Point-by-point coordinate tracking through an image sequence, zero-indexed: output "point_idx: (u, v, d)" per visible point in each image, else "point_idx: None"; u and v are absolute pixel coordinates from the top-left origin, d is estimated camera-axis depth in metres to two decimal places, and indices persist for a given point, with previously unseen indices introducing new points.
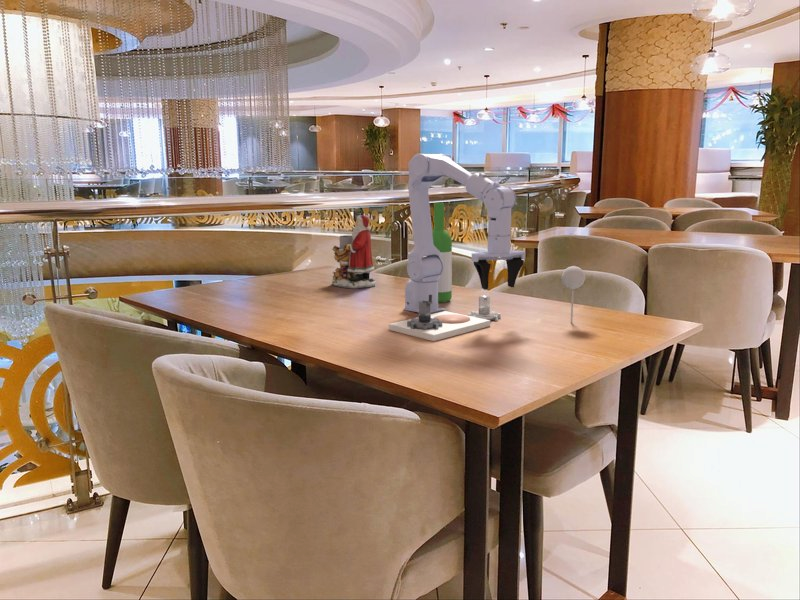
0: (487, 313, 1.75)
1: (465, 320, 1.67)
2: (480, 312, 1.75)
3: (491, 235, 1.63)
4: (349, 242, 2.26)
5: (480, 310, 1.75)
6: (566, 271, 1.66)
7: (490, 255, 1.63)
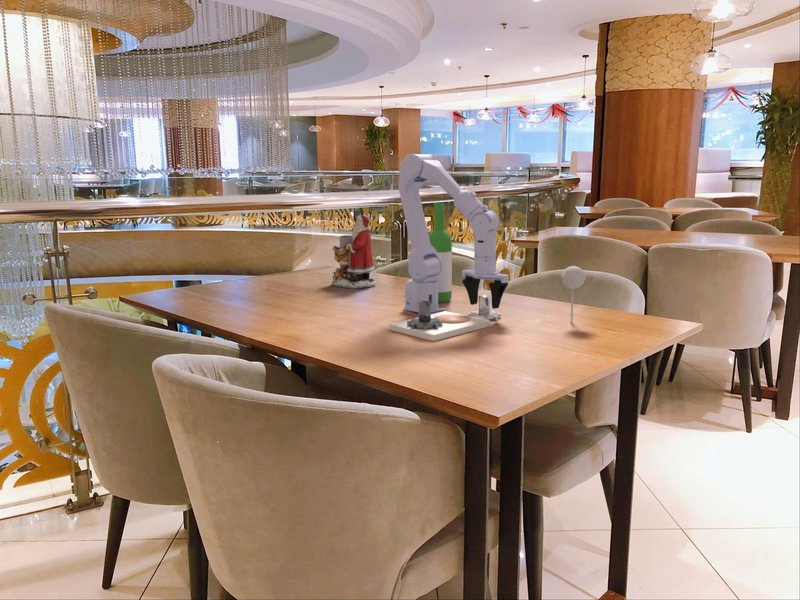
0: (487, 313, 1.75)
1: (465, 320, 1.67)
2: (480, 312, 1.75)
3: None
4: (349, 242, 2.26)
5: (480, 310, 1.75)
6: (566, 271, 1.66)
7: (470, 273, 1.75)
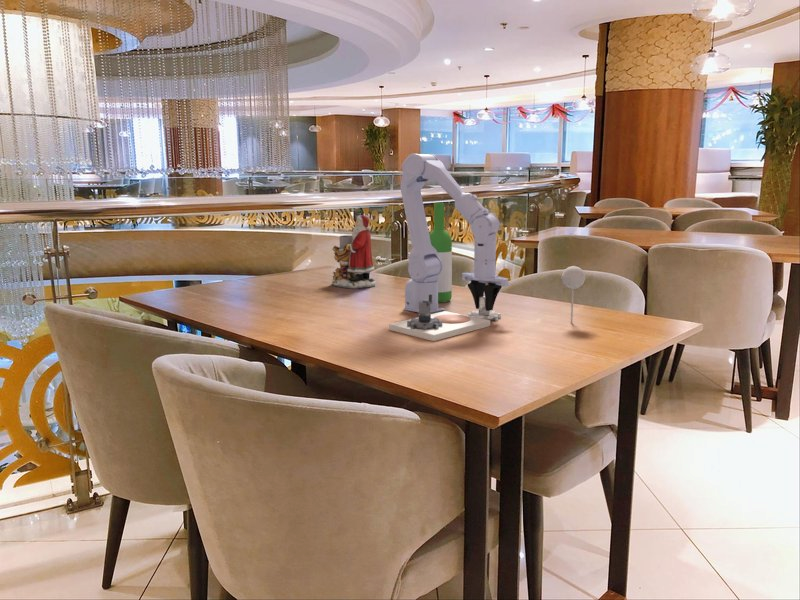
0: (487, 313, 1.75)
1: (465, 320, 1.67)
2: (480, 312, 1.75)
3: None
4: (349, 242, 2.26)
5: (480, 310, 1.75)
6: (566, 271, 1.66)
7: (470, 276, 1.76)
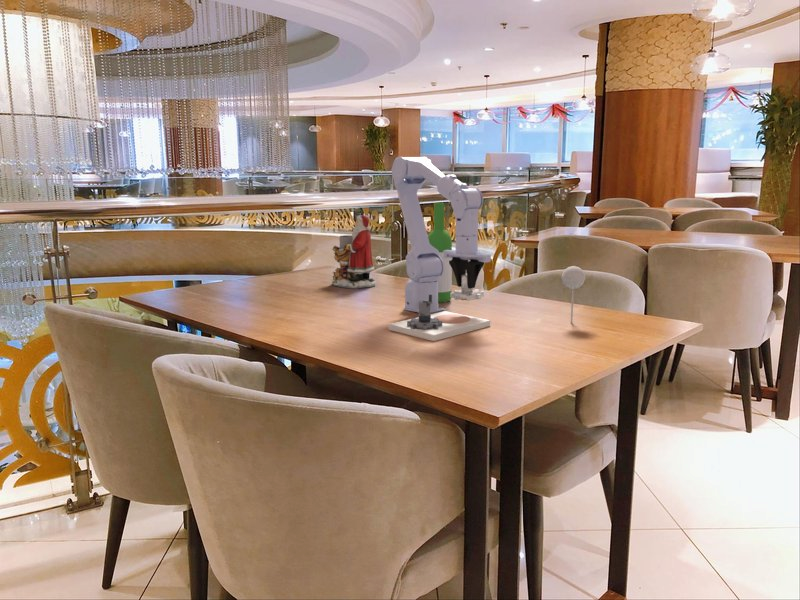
0: (470, 292, 1.70)
1: (465, 320, 1.67)
2: (463, 291, 1.70)
3: None
4: (349, 242, 2.26)
5: (463, 289, 1.70)
6: (566, 271, 1.66)
7: (451, 253, 1.70)
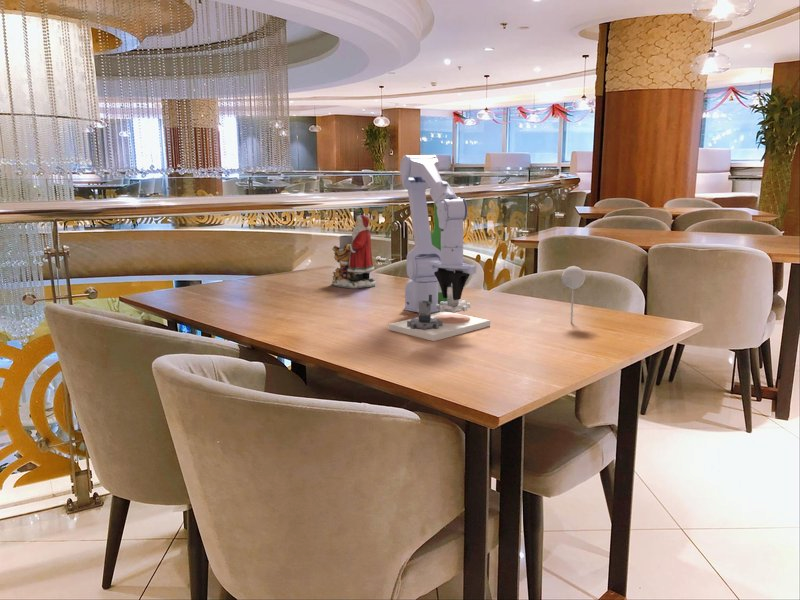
0: (456, 303, 1.67)
1: (465, 320, 1.67)
2: (448, 303, 1.68)
3: None
4: (349, 242, 2.26)
5: (448, 301, 1.67)
6: (566, 271, 1.66)
7: (436, 264, 1.67)
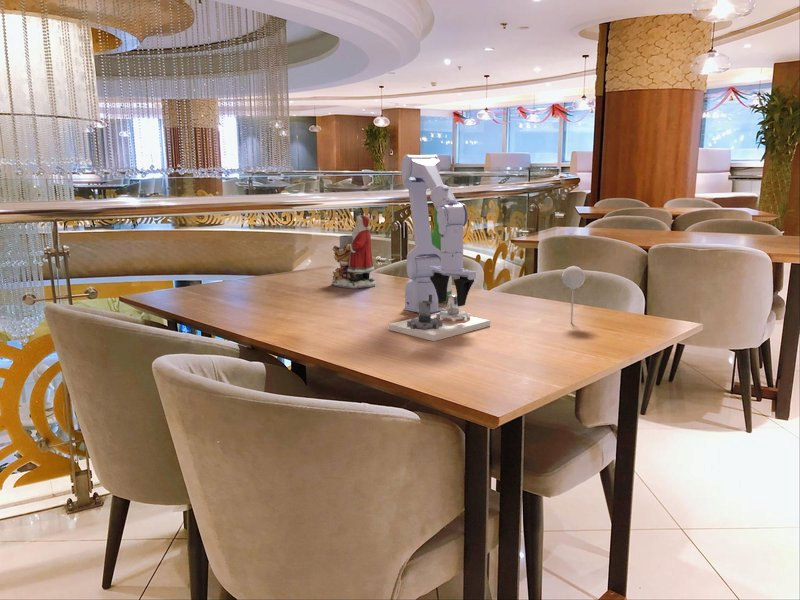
0: (456, 313, 1.68)
1: None
2: (449, 312, 1.68)
3: None
4: (349, 242, 2.26)
5: (449, 310, 1.68)
6: (566, 271, 1.66)
7: (436, 269, 1.68)
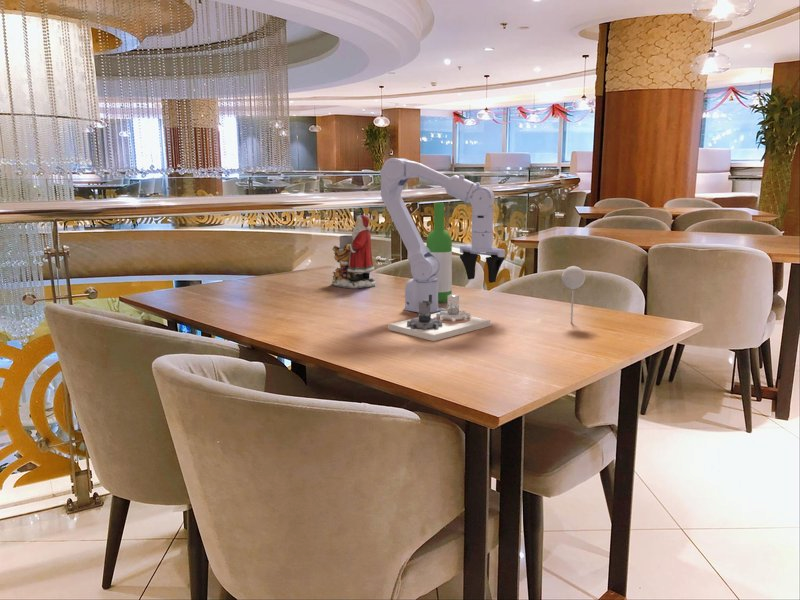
0: (456, 313, 1.68)
1: None
2: (449, 312, 1.68)
3: None
4: (349, 242, 2.26)
5: (449, 310, 1.68)
6: (566, 271, 1.66)
7: (467, 248, 1.79)
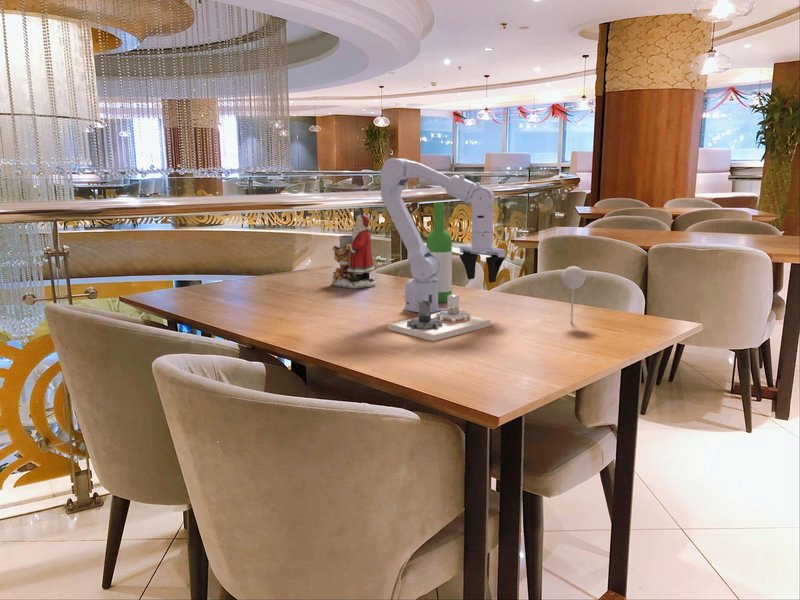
0: (456, 313, 1.68)
1: None
2: (449, 312, 1.68)
3: None
4: (349, 242, 2.26)
5: (449, 310, 1.68)
6: (566, 271, 1.66)
7: (467, 248, 1.79)
